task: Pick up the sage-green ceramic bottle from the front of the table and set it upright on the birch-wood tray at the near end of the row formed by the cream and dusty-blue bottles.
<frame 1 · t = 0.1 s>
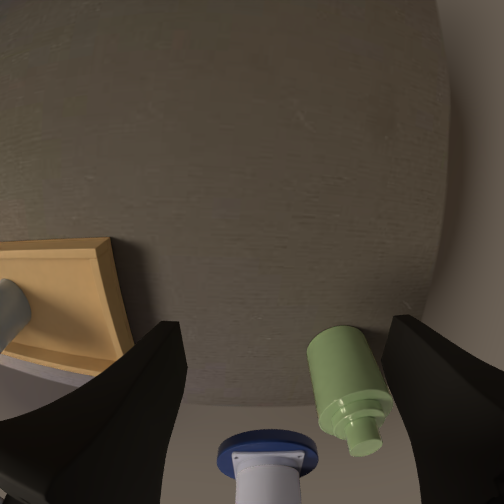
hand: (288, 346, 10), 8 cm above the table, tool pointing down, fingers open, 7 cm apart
tray: (16, 299, 19), on the table
blue bottle: (13, 302, 19), resting on tray
sage bottle: (337, 350, 20), on the table
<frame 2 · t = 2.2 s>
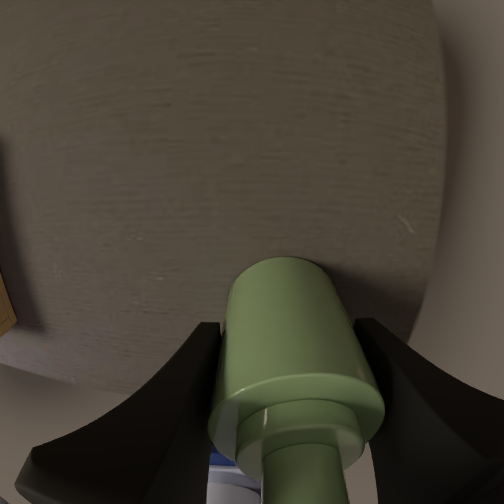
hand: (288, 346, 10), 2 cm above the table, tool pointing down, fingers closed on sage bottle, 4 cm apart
sage bottle: (282, 307, 12), on the table, touching gripper
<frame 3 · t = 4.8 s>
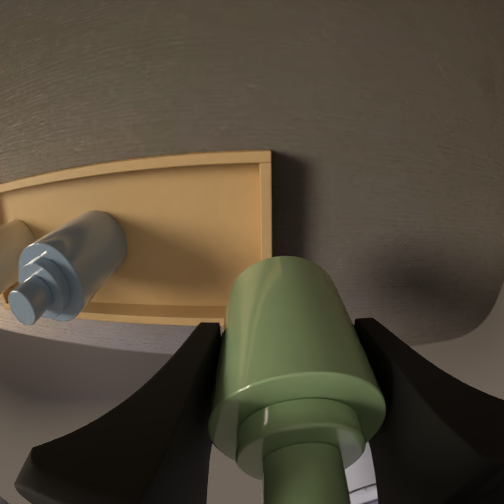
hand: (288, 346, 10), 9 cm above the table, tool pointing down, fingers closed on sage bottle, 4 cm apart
tray: (101, 240, 18), on the table
blue bottle: (98, 242, 18), resting on tray
sage bottle: (283, 306, 12), point 7 cm above the table, touching gripper
cream bottle: (19, 245, 18), resting on tray
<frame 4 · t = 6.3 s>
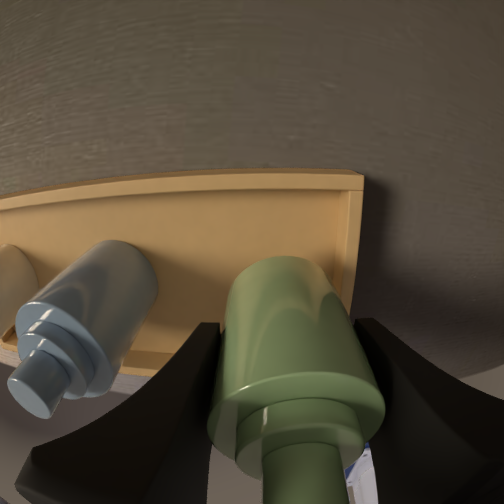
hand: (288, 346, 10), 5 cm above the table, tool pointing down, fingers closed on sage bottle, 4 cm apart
tray: (122, 276, 15), on the table
blue bottle: (118, 280, 14), resting on tray
sage bottle: (282, 306, 12), point 3 cm above the table, touching gripper
cream bottle: (15, 276, 14), resting on tray
when the fingers open (3 cm above the table, at t = 7.5 s): sage bottle stays where it is, resting on tray.
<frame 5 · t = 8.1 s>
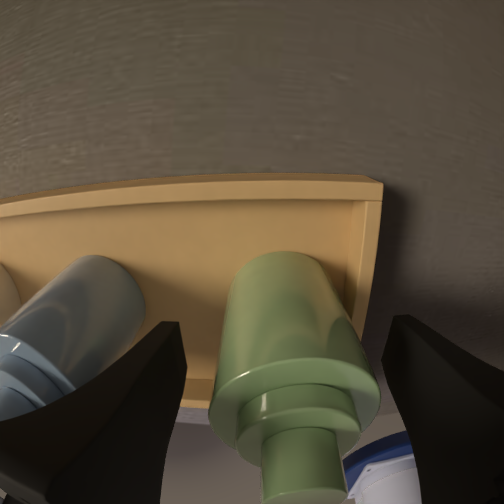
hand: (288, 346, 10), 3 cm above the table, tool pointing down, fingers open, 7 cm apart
tray: (106, 294, 13), on the table
blue bottle: (102, 299, 12), resting on tray
sage bottle: (281, 301, 12), resting on tray
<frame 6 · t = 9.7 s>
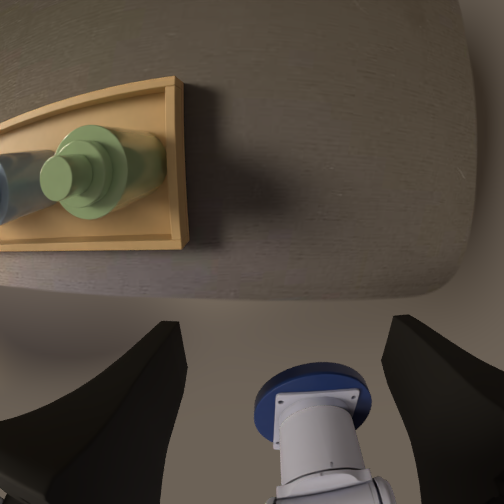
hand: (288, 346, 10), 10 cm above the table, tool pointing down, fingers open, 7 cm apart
tray: (47, 177, 18), on the table
blue bottle: (43, 178, 18), resting on tray
sage bottle: (135, 164, 17), resting on tray
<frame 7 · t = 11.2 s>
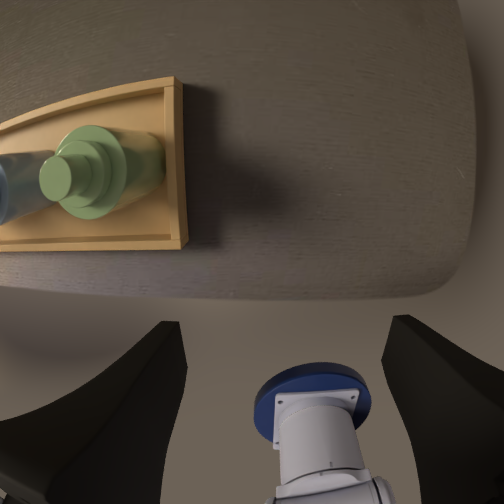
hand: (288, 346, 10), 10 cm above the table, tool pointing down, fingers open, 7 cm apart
tray: (47, 178, 18), on the table
blue bottle: (43, 179, 18), resting on tray
sage bottle: (135, 164, 18), resting on tray
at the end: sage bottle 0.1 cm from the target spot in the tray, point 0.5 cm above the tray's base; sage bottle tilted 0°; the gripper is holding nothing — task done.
